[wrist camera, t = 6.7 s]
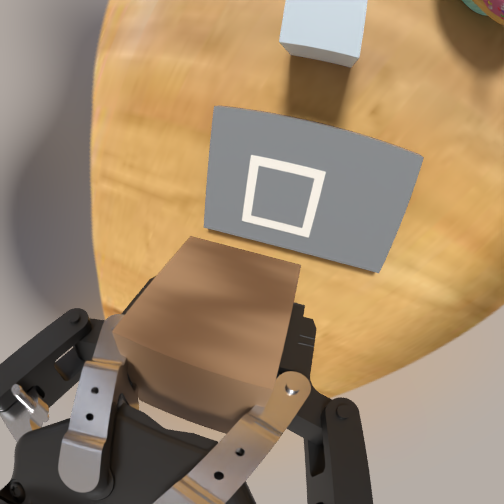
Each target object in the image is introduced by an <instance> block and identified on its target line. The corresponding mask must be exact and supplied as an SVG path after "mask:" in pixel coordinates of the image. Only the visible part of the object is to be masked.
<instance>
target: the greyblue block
mask: <svg viewBox="0 0 504 504" xmlns="http://www.w3.org/2000/svg"><path fill="white" fill-rule="evenodd" d="M366 9H367V0H286V2H285V9H284V15H283V21H282V27H281V33H280V39H279V42H280V44H281V45H282V46H283V47H284V48H285V49H286V50H287V51H288V53H289V54H290V55H294V56H300V57H305V58H311V59H316V60H321V61H325V62H330V63H334V64H338V65H342V66H346V67H350V68H351V67H352V66H353V65H354V64H355V62H356V61H357V60H358V59H359V56H360V50H361V44H362V37H363V31H364V24H365V16H366Z"/></svg>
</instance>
